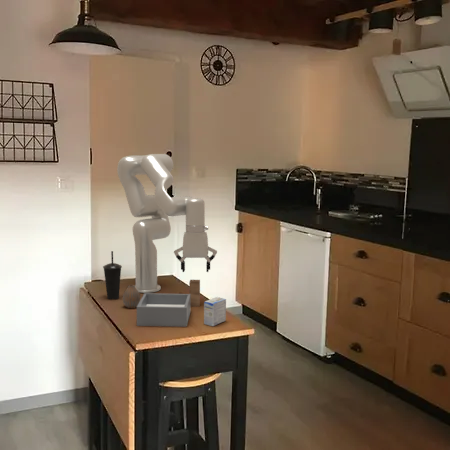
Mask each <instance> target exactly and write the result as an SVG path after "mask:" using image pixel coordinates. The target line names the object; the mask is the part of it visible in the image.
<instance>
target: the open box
mask: <svg viewBox="0 0 450 450" xmlns="http://www.w3.org/2000/svg"><path fill="white" fill-rule="evenodd" d="M191 307H192V306H191V294H189V293H155V292H151V293H143V295H142V296H141V297H140V302H139V304H138V305H137V307H136V326H137V327H138V326H139V327H150V326H151V327H180V328H181V327H184V328H186V327H187V326H188V324H189V323H188V322H189V320H190V315H191Z"/></svg>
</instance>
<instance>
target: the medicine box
mask: <svg viewBox="0 0 450 450" xmlns="http://www.w3.org/2000/svg"><path fill="white" fill-rule="evenodd" d="M226 317H227V299H226V298H223V297H218V296H215V297H213V298H211V299H207V300H205V301H204V302H203V324H204V325H206V326H209V327H215V326H217V325H219V324H222V323H223V322H226V321H227V320H226Z"/></svg>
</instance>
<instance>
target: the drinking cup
mask: <svg viewBox="0 0 450 450" xmlns="http://www.w3.org/2000/svg"><path fill="white" fill-rule="evenodd" d="M110 253H111V254H110V255H111V256H110V257H111V258H110V259H111V262H110V263H106V264H104V265H103V266H102V268H103V273H104V281H105V290H106V291H105V292H106V299H108V300H118V299H119V298H120V289H121V287H120V286H121V276H122V275H121V273H122V272H121V271H122V268H123V267H122V265H121V264H119V263H115V262H114V251H111V252H110Z"/></svg>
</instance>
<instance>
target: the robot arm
mask: <svg viewBox="0 0 450 450" xmlns="http://www.w3.org/2000/svg"><path fill="white" fill-rule="evenodd" d="M173 169H174V161H173V158H172V157H171V156H170V155H168V154H166V153H150V154H146V155H127V156H123V157H121V158H120V160H119V161H118V163H117V170H116V171H117V177H118V180H119V182H120V183H121V186H122V188H123V191H124V193H125V196H126V201H127V204H128V207H129V210H130V213H131V215H132V216H133V217H134V218H143V219H139V220H137V221H136V222H134V223H133V225H132V236H133V240H134V241H133V242H134V249H135V251H134V256H135V261H134V262H135V268H134V269H135V284H133V285H134V286H135V288H136V289H137V290H138V292H139V294H140V293H143V294H144V293H156V292H159V291H160V290H161V289H162V288H161V285H160V284H158V250H157V247H156V245H155V243H154V242H153V241H155V240H162V239H166V238H167V237H169V236H170V234H171V222H170V219H169V217H178V216H185V231H184V233H183V240H182V246H181V247H179V248H177V249H175V250H174V251H173V254H174V255H175V257H176V259H177V260H178V261H179V262H180V270H181V271H182V273H184V272H186V271H185V270H186V261H185V260H186V259H189V258H191V259H195V258H196V259H197V258H198V259H205V260H206V272H207V273H209V270H211V262H212V261H213V259H215V257H216V256H217V253H218V250H216V249H214V248H213V247H210V245H209V239H208V233H207V232H206V231H208V230H209V226H206V225H205V216H206V215H205V214H206V213H205V207H206V206H205V200H204V199H203V198H201V197H200V198H199V197H197V198H196V197H192V196H187V195H186V196H174V197H173V196H172V197H171V196H170V195H169V194H168V192H167V191H166V190H168V189H169V188H170V187H171V186H172V185H173V183H174V176H173V175H172V173H171V172H172V171H173ZM136 175H137V176H140V175H141V176H143V175H146V176H147V178H148V179H149V180H150V181H151V183H152V184H153V185H154V187H155V190H154V194H151V195H150V194H149V195H147V193H146V191H145V187H144V185H143V183H142V182H141V181H140V179H139V178H138V177H136ZM147 217H151V218H147ZM180 252H182V256H180V254H179V253H180ZM209 252H210V253H212V254H211V255H210V257H209Z"/></svg>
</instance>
